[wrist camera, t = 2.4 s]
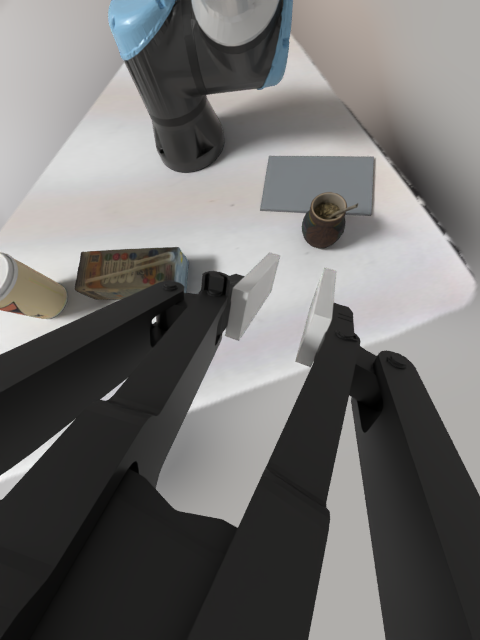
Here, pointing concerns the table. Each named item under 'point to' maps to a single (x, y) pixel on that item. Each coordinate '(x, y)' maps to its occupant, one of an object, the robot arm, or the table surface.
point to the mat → (317, 182)
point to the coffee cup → (28, 290)
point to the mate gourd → (325, 219)
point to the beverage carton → (129, 271)
